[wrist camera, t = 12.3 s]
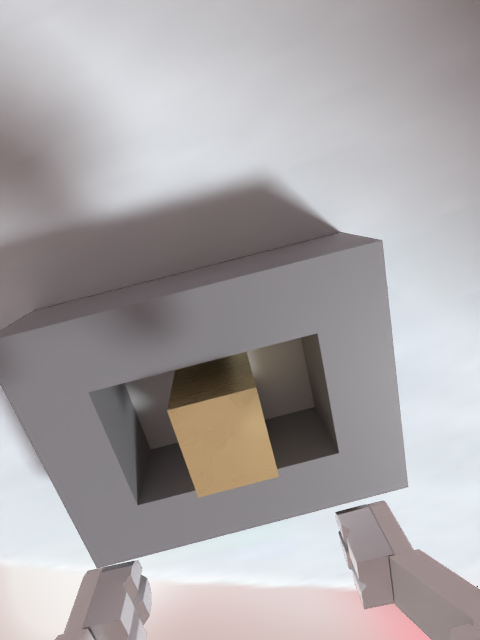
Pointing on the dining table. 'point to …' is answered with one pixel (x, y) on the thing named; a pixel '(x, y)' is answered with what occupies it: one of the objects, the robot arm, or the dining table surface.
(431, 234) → the dining table surface
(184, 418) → the tan block
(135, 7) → the dining table surface
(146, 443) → the well
